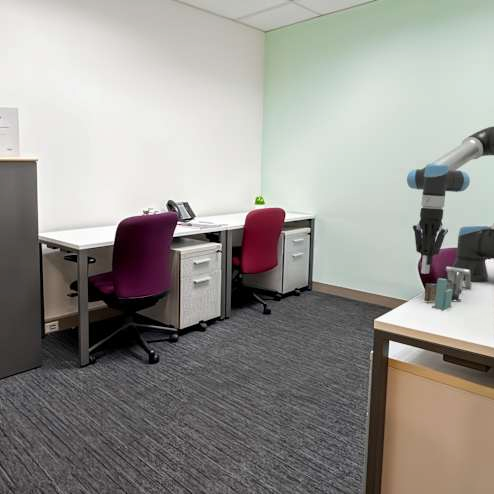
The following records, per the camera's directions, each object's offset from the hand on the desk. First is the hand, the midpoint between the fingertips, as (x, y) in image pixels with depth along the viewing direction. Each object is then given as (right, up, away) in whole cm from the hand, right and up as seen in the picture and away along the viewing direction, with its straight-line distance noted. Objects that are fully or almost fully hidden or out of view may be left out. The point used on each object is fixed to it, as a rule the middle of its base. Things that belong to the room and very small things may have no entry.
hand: (425, 273), depth 170 cm
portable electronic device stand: (+20, -7, +19) cm, 29 cm away
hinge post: (+10, -10, -1) cm, 14 cm away
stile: (+2, -11, -10) cm, 15 cm away
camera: (+14, -8, +14) cm, 22 cm away
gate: (+3, -9, -3) cm, 11 cm away
